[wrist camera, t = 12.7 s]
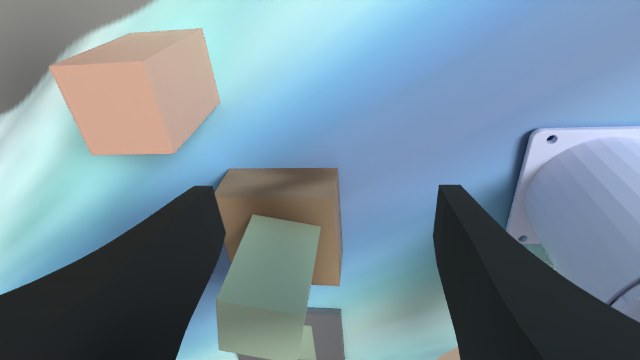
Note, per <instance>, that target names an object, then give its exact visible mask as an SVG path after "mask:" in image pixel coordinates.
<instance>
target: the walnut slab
mask: <svg viewBox="0 0 640 360" xmlns="http://www.w3.org/2000/svg"><path fill="white" fill-rule="evenodd" d="M214 194H215V197H216V200H217V204H218V207H219V211H220V214H221V217H222V221H223V224H224V228H225V231H226V235H225V239H224V243H225V246H226V250H227V253H228V256H229V260H230V263H231V264H232V261H233V259H234V257H235V254H236V252H237V250H238V247H239V245H240V243H241V240H242V238H243V236H244V234H245V231H246V229H247V227H248V224H249V222H250V220H251V217H252V215H259V216H265V217H270V218H276V219H282V220H287V221H293V222H299V223H304V224H310V225H316V226H321V229H320V235H319V241H318V247H317V253H316V259H315V265H314V271H313V277H312V282H311V285H332V286H340V275H341V264H342V252H343V249H342V232H341V214H340V197H339V179H338V168H271V169H229V170H228V171H227V173H226V174H225V176H224V178H223V179H222V181H221V183H220V184H219V186H218V188H217V189H216V191H215V192H214Z"/></svg>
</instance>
